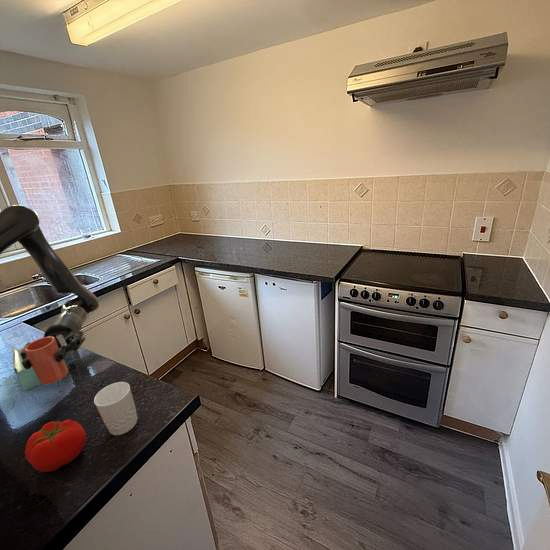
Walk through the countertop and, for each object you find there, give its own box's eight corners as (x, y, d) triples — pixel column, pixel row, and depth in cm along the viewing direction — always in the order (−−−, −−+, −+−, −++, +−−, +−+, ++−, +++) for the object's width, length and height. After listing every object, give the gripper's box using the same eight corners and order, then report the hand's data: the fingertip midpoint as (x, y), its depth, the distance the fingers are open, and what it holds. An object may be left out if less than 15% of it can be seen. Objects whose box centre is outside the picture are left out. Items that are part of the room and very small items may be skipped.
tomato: (93, 460, 67) (80, 431, 63) (32, 492, 61) (15, 463, 58) (88, 429, 75) (77, 402, 72) (35, 455, 69) (20, 427, 66)
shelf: (22, 368, 102) (12, 347, 99) (63, 352, 109) (55, 332, 106) (24, 391, 91) (13, 368, 88) (70, 371, 98) (61, 350, 95)
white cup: (99, 432, 74) (86, 400, 70) (126, 408, 80) (115, 378, 77) (121, 442, 70) (108, 409, 67) (147, 416, 77) (136, 386, 73)
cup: (35, 387, 74) (19, 353, 70) (45, 371, 79) (30, 340, 76) (63, 380, 75) (49, 347, 71) (71, 365, 81) (58, 334, 77)
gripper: (32, 323, 85) (0, 357, 70) (87, 312, 88) (69, 342, 73) (42, 345, 87) (14, 383, 72) (95, 334, 91) (79, 367, 76)
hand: (42, 362), depth 73 cm, fingers closed on cup, 6 cm apart
